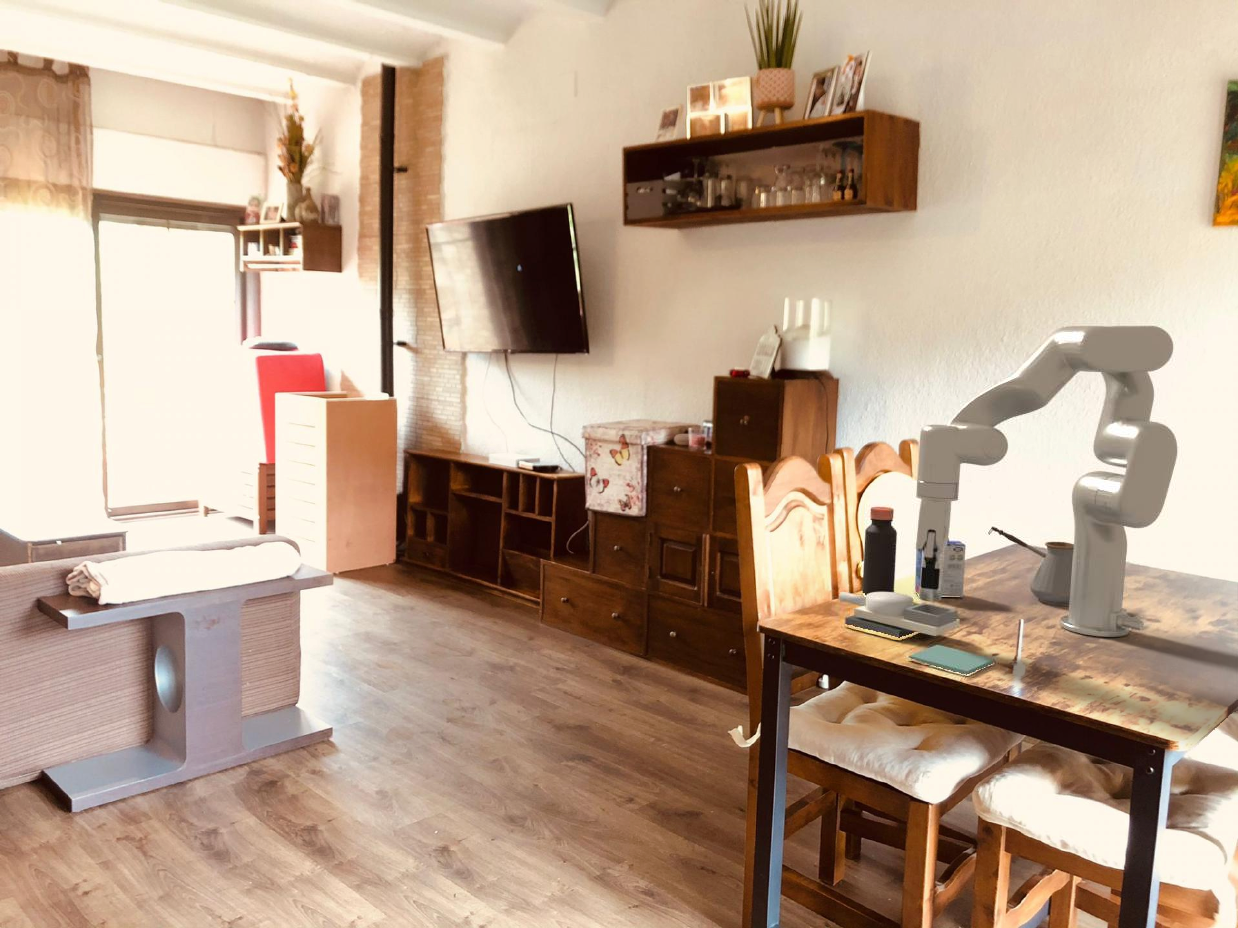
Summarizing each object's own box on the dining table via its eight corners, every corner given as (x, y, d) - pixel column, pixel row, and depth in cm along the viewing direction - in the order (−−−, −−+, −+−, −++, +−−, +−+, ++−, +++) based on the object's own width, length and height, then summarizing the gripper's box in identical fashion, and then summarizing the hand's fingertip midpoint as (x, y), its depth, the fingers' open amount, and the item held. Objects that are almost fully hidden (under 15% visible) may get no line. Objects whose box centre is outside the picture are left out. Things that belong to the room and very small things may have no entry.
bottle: (871, 601, 217) (876, 511, 214) (856, 593, 223) (860, 506, 221) (899, 600, 218) (904, 510, 216) (883, 592, 225) (887, 505, 222)
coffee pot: (1090, 600, 221) (1095, 534, 219) (1078, 611, 212) (1083, 542, 210) (992, 585, 233) (996, 522, 232) (977, 594, 224) (981, 529, 222)
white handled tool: (828, 609, 201) (829, 590, 200) (854, 602, 207) (854, 583, 207) (935, 636, 184) (936, 615, 183) (959, 627, 190) (960, 606, 189)
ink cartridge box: (956, 592, 226) (960, 530, 224) (964, 599, 220) (968, 535, 218) (912, 591, 226) (916, 529, 224) (919, 598, 220) (923, 534, 219)
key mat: (994, 664, 175) (994, 658, 175) (966, 676, 168) (967, 671, 168) (937, 649, 183) (937, 644, 183) (908, 660, 176) (909, 655, 176)
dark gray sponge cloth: (931, 629, 196) (931, 619, 196) (898, 641, 188) (899, 631, 188) (878, 616, 205) (878, 607, 204) (844, 627, 197) (845, 617, 196)
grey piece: (945, 599, 189) (948, 548, 187) (934, 602, 186) (937, 550, 185) (926, 595, 192) (929, 544, 190) (915, 598, 189) (918, 547, 188)
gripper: (922, 483, 195) (916, 574, 198) (910, 494, 180) (904, 593, 182) (962, 487, 192) (956, 579, 194) (953, 498, 177) (946, 598, 179)
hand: (931, 584), depth 188 cm, fingers closed on grey piece, 4 cm apart
